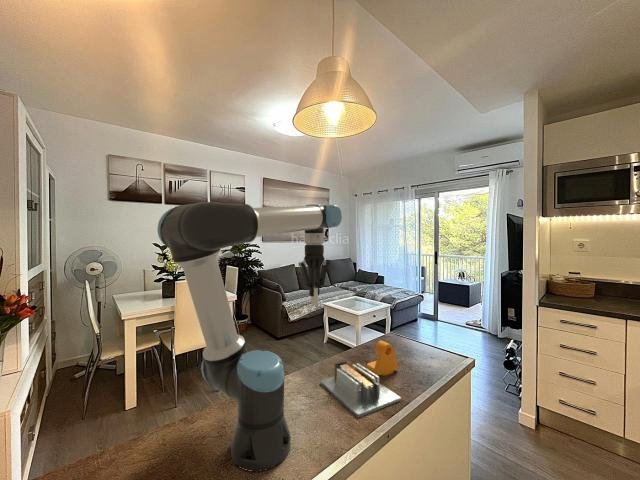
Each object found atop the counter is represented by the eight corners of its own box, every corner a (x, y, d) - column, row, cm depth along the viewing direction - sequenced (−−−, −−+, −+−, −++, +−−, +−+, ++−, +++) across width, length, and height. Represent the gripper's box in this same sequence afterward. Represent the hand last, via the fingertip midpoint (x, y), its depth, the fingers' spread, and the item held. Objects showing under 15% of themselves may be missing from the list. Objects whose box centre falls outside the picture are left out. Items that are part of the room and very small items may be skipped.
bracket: (385, 364, 119) (385, 336, 119) (398, 371, 113) (398, 341, 113) (366, 370, 114) (366, 341, 114) (378, 377, 108) (377, 347, 108)
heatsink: (400, 400, 93) (400, 381, 93) (357, 417, 84) (357, 396, 84) (358, 371, 113) (358, 356, 113) (320, 383, 104) (320, 366, 104)
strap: (375, 388, 92) (375, 385, 92) (368, 391, 91) (368, 388, 91) (346, 366, 107) (346, 363, 107) (339, 368, 106) (339, 365, 106)
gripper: (303, 244, 102) (303, 308, 103) (333, 244, 109) (333, 304, 109) (295, 244, 109) (295, 304, 109) (323, 243, 115) (323, 300, 116)
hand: (314, 304), depth 109 cm, fingers closed
